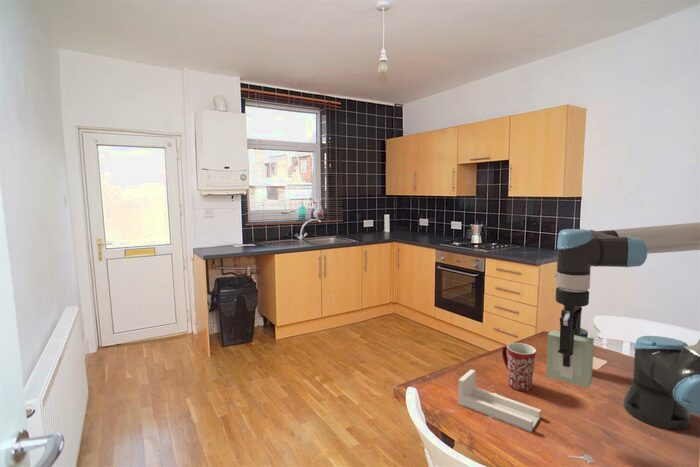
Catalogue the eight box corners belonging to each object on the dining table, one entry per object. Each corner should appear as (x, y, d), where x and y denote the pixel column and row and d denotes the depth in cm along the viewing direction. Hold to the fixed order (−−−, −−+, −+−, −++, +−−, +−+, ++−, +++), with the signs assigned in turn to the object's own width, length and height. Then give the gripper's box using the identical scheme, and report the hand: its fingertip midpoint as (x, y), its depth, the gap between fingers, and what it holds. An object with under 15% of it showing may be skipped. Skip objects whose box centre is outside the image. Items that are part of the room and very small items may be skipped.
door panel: (591, 382, 99) (593, 338, 98) (588, 388, 96) (590, 343, 95) (550, 370, 106) (551, 329, 105) (546, 376, 103) (547, 334, 101)
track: (540, 417, 110) (541, 391, 109) (531, 432, 103) (532, 405, 103) (470, 392, 124) (471, 369, 123) (458, 403, 118) (458, 379, 117)
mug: (540, 390, 125) (542, 351, 123) (518, 395, 122) (519, 355, 121) (514, 372, 137) (515, 337, 135) (493, 376, 134) (494, 340, 133)
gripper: (564, 279, 107) (561, 358, 110) (547, 293, 94) (544, 381, 97) (595, 283, 102) (591, 365, 105) (581, 298, 89) (577, 391, 92)
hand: (568, 373), depth 101 cm, fingers closed on door panel, 4 cm apart
